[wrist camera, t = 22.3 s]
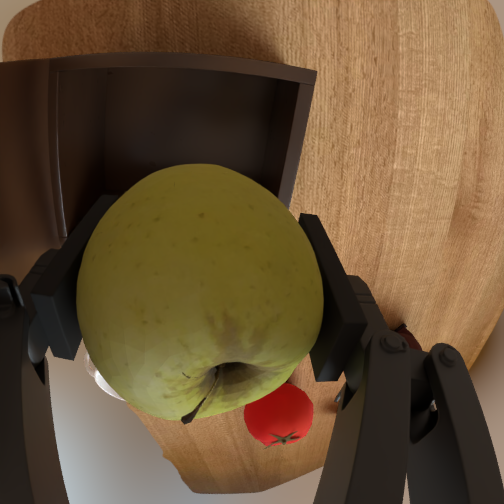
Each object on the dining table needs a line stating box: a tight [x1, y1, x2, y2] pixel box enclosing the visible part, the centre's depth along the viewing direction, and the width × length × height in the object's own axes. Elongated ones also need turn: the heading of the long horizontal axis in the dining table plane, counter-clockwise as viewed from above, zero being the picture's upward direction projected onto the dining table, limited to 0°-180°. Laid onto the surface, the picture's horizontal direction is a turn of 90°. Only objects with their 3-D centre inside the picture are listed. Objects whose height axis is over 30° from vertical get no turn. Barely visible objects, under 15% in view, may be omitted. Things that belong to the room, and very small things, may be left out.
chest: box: [48, 52, 317, 247], centre depth 25 cm, size 18×15×11 cm
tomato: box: [244, 383, 314, 449], centre depth 49 cm, size 12×12×11 cm
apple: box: [76, 164, 324, 424], centre depth 10 cm, size 8×8×10 cm
